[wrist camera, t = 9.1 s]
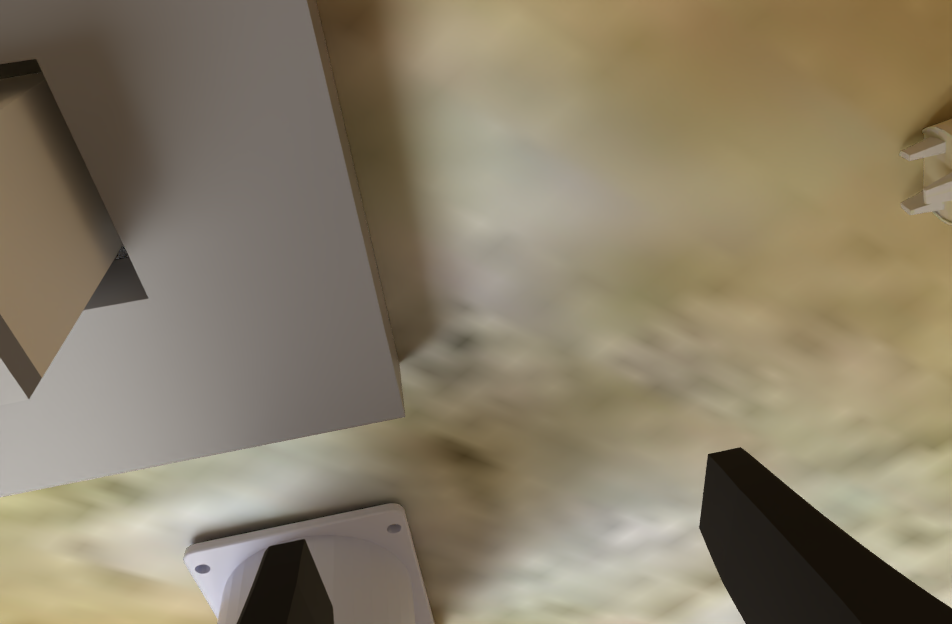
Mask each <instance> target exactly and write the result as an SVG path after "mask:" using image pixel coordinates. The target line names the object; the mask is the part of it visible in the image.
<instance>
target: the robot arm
mask: <svg viewBox="0 0 952 624" xmlns="http://www.w3.org/2000/svg"><path fill="white" fill-rule="evenodd" d="M392 524H395V525H392ZM699 528H700V531H701V533H702V536H703V538H704V540H705V543H706V545H707V548H708V550H709V552H710V555H711V557H712V559H713V562H714V564H715V566H716V568H717V571H718V573H719V575H720V577H721V580H722V582H723V584H724V586H725V587H726V589H727V591H728V593H729V595H730V597H731V598H732V600H733V602H734V604H735V605H736V607H737V609H738V611H739V612H740V614H741V616H742V618H743V620H744V621H745V623H746V624H952V608H951V607H949V606H947V605H946V604H944V603H943V602H941V601H940V600H938V599H937V598H935V597H934V596H932V595H931V594H930V593H928V592H927V591H925V590H924V589H922V588H921V587H919V586H918V585H916V584H915V583H914V582H912V581H911V580H909V579H908V578H906V577H905V576H904V575H902V574H901V573H899V572H898V571H897V570H895V569H894V568H892V567H891V566H890V565H888V564H887V563H885V562H884V561H883V560H881V559H880V558H879V557H877V556H876V555H875V554H873V553H872V552H871V551H869V550H868V549H866V548H865V547H864V546H862V545H861V544H860V543H859V542H857V541H856V540H855V539H853V538H852V537H851V536H850V535H848V534H847V533H846V532H844V531H843V530H842V529H840V528H839V527H838V526H837V525H835V524H834V523H833V522H831V521H830V520H829V519H828V518H826V517H825V516H824V515H823V514H821V513H820V512H819V511H818V510H816V509H815V508H814V507H813V506H811V505H810V504H809V503H808V502H806V501H805V500H804V499H803V498H802V497H800V496H799V495H798V494H797V493H795V492H794V491H793V490H792V489H791V488H789V487H788V486H787V485H786V484H785V483H783V482H782V481H781V480H780V479H779V478H777V477H776V476H775V475H774V474H773V473H771V472H770V471H769V470H768V469H767V468H765V467H764V466H763V465H762V464H761V463H760V462H758V461H757V460H756V459H755V458H754V457H752V456H751V455H750V454H749V453H748V452H746V451H745V450H744V449H742V448H741V447H740V448H735V449H730V450H726V451H721V452H716V453H711V454H708V459H707V467H706V476H705V484H704V492H703V501H702V509H701V517H700V526H699ZM183 560H184V563H185V565H186V567H187V568H188V570H189V572H190V573H191V575H192V577H193V578H194V580H195V582H196V583H197V585H198V587H199V589H200V590H201V592H202V594H203V595H204V597H205V599H206V600H207V602H208V604H209V605H210V607H211V609H212V610H213V612H214V614H215V615H216V617H217V619H218V622H217V624H435V623H434V619H433V615H432V611H431V608H430V604H429V600H428V596H427V593H426V589H425V585H424V581H423V578H422V574H421V570H420V566H419V563H418V559H417V555H416V551H415V548H414V544H413V540H412V536H411V533H410V529H409V525H408V521H407V517H406V514H405V510H404V508H403V507H402V506H401V505H399V504H395V503H389V504H384V505H379V506H374V507H369V508H364V509H360V510H355V511H350V512H345V513H340V514H336V515H331V516H326V517H321V518H316V519H311V520H307V521H302V522H297V523H292V524H287V525H283V526H278V527H273V528H268V529H263V530H259V531H254V532H249V533H244V534H239V535H234V536H230V537H225V538H220V539H215V540H210V541H206V542H201V543H196V544H193V545H190V546H189V547H187V548H186V550H185V553H184V558H183Z"/></svg>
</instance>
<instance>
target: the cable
mask: <svg viewBox="0 0 952 624" xmlns="http://www.w3.org/2000/svg"><path fill="white" fill-rule="evenodd" d="M923 133H924V140H923V141H921V142H919V143H916V144H914V145H912V146H910V147H908V148H906V149H904V150H902V151H900V154H899V156H901V157H903V158H905V159H907V160H908V161H912V160H916V159H921V158H924V170H923V191H921V192H919V193H918V194H916V195H914V196H912V197H910V198H908V199H906V200H905V201H903V202H901V208H902V209H903V210H904V211H905V212H907V213H908V214H909V215H914V214H920V213H926V212H933V213H934V214H935V216H937V217H938V218H939V219H940V220H941V221H943V222H944V223H946V224H948V225H950V226H952V119H949V120H947V121H944V122H941V123H938V124H935V125H932V126H930V127H927V128H925V129H923V130H922V134H923Z"/></svg>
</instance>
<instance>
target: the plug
mask: <svg viewBox="0 0 952 624" xmlns="http://www.w3.org/2000/svg"><path fill="white" fill-rule="evenodd" d="M122 246H123V243H122V241H121V239H120V236H119V234H118V232H117V230H116V228H115V226H114V224H113V222H112V219H111V217H110V215H109V213H108V211H107V209H106V207H105V204H104V202H103V200H102V198H101V196H100V194H99V192H98V190H97V187H96V185H95V183H94V181H93V179H92V177H91V175H90V173H89V170H88V168H87V166H86V164H85V162H84V160H83V158H82V156H81V153H80V151H79V149H78V147H77V145H76V143H75V141H74V139H73V136H72V134H71V132H70V130H69V128H68V126H67V124H66V121H65V119H64V117H63V115H62V113H61V111H60V109H59V107H58V104H57V102H56V100H55V98H54V96H53V94H52V92H51V90H50V87H49V85H48V83H47V81H46V79H45V77H44V75H43V73H42V72H39V73H33V74H28V75H22V76H16V77H10V78H4V79H0V405H5V404H10V403H14V402H19V401H24V400H29V399H30V397H31V395H32V394H33V392H34V391H35V389H36V387H37V386H38V384H39V382H40V381H41V379H42V377H43V376H44V374H45V372H46V371H47V369H48V367H49V366H50V364H51V363H52V361H53V359H54V358H55V356H56V354H57V353H58V351H59V349H60V348H61V346H62V344H63V343H64V341H65V339H66V338H67V336H68V335H69V333H70V331H71V330H72V328H73V326H74V325H75V323H76V321H77V320H78V318H79V316H80V315H81V313H82V311H83V310H84V308H85V306H86V305H87V303H88V302H89V300H90V298H91V297H92V295H93V293H94V292H95V290H96V288H97V287H98V285H99V283H100V282H101V280H102V278H103V277H104V275H105V274H106V272H107V270H108V269H109V267H110V265H111V264H112V262H113V260H114V259H115V257H116V255H117V254H118V252H119V250H120V249H121V247H122Z"/></svg>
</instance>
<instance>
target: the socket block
mask: <svg viewBox="0 0 952 624" xmlns="http://www.w3.org/2000/svg"><path fill="white" fill-rule="evenodd" d="M31 59H36V60H37V62H38V64H39V66H40V68H41V70H42V73H43V75H44V77H45V79H46V81H47V83H48V85H49V87H50V90H51V92H52V94H53V96H54V98H55V100H56V102H57V104H58V107H59V109H60V111H61V113H62V115H63V117H64V119H65V121H66V124H67V126H68V128H69V130H70V132H71V134H72V136H73V139H74V141H75V143H76V145H77V147H78V149H79V151H80V153H81V156H82V158H83V160H84V162H85V164H86V166H87V168H88V170H89V173H90V175H91V177H92V179H93V181H94V183H95V185H96V187H97V190H98V192H99V194H100V196H101V198H102V200H103V202H104V204H105V207H106V209H107V211H108V213H109V215H110V217H111V219H112V222H113V224H114V226H115V228H116V230H117V232H118V234H119V236H120V239H121V241H122V243H123V245H124V247H125V249H126V251H127V253H128V256H129V257H128V258H122V259H116V260H113V262H112V264H111V265H110V267H109V269H108V270H107V272H106V274H105V275H104V277H103V278H102V280H101V282H100V283H99V285H98V287H97V288H96V290H95V292H94V293H93V295H92V297H91V298H90V300H89V302H88V303H87V305H86V306H85V308H84V310H83V311H82V313H81V315H80V316H79V318H78V320H77V321H76V323H75V325H74V326H73V328H72V330H71V331H70V333H69V335H68V336H67V338H66V339H65V341H64V343H63V344H62V346H61V348H60V349H59V351H58V353H57V354H56V356H55V358H54V359H53V361H52V363H51V364H50V366H49V367H48V369H47V371H46V372H45V374H44V376H43V377H42V379H41V381H40V382H39V384H38V386H37V387H36V389H35V391H34V392H33V394H32V395H31V397H30V399H29V400H24V401H19V402H14V403H10V404H5V405H0V497H4V496H9V495H14V494H19V493H24V492H29V491H34V490H39V489H44V488H49V487H54V486H59V485H64V484H69V483H74V482H80V481H85V480H90V479H95V478H100V477H105V476H110V475H115V474H120V473H125V472H130V471H135V470H140V469H145V468H150V467H155V466H160V465H165V464H170V463H175V462H180V461H185V460H190V459H195V458H200V457H206V456H211V455H216V454H221V453H226V452H231V451H236V450H241V449H246V448H251V447H256V446H261V445H266V444H271V443H276V442H281V441H286V440H291V439H296V438H301V437H306V436H311V435H316V434H321V433H326V432H332V431H337V430H342V429H347V428H352V427H357V426H362V425H367V424H372V423H377V422H382V421H387V420H392V419H397V418H402V417H405V410H404V401H403V392H402V383H401V374H400V365H399V360H398V356H397V351H396V347H395V343H394V338H393V334H392V330H391V325H390V321H389V317H388V312H387V308H386V303H385V299H384V295H383V290H382V286H381V282H380V277H379V273H378V269H377V264H376V260H375V255H374V251H373V247H372V242H371V238H370V234H369V229H368V225H367V221H366V216H365V212H364V207H363V203H362V199H361V194H360V190H359V186H358V181H357V177H356V173H355V168H354V164H353V159H352V155H351V151H350V146H349V142H348V138H347V133H346V129H345V125H344V120H343V116H342V112H341V107H340V103H339V98H338V94H337V90H336V85H335V81H334V77H333V72H332V68H331V64H330V59H329V55H328V50H327V46H326V42H325V37H324V33H323V29H322V24H321V20H320V16H319V11H318V7H317V2H316V0H0V64H5V63H12V62H18V61H25V60H31Z"/></svg>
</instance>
